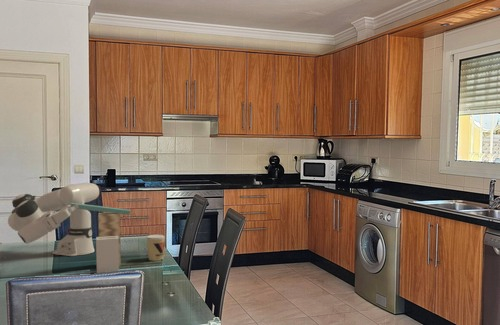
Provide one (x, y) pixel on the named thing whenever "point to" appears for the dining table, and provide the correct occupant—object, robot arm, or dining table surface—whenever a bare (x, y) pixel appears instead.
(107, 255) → the grey slot box
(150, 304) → the dining table surface
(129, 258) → the dining table surface
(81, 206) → the teal board
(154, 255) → the coffee cup
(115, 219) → the birch stand
